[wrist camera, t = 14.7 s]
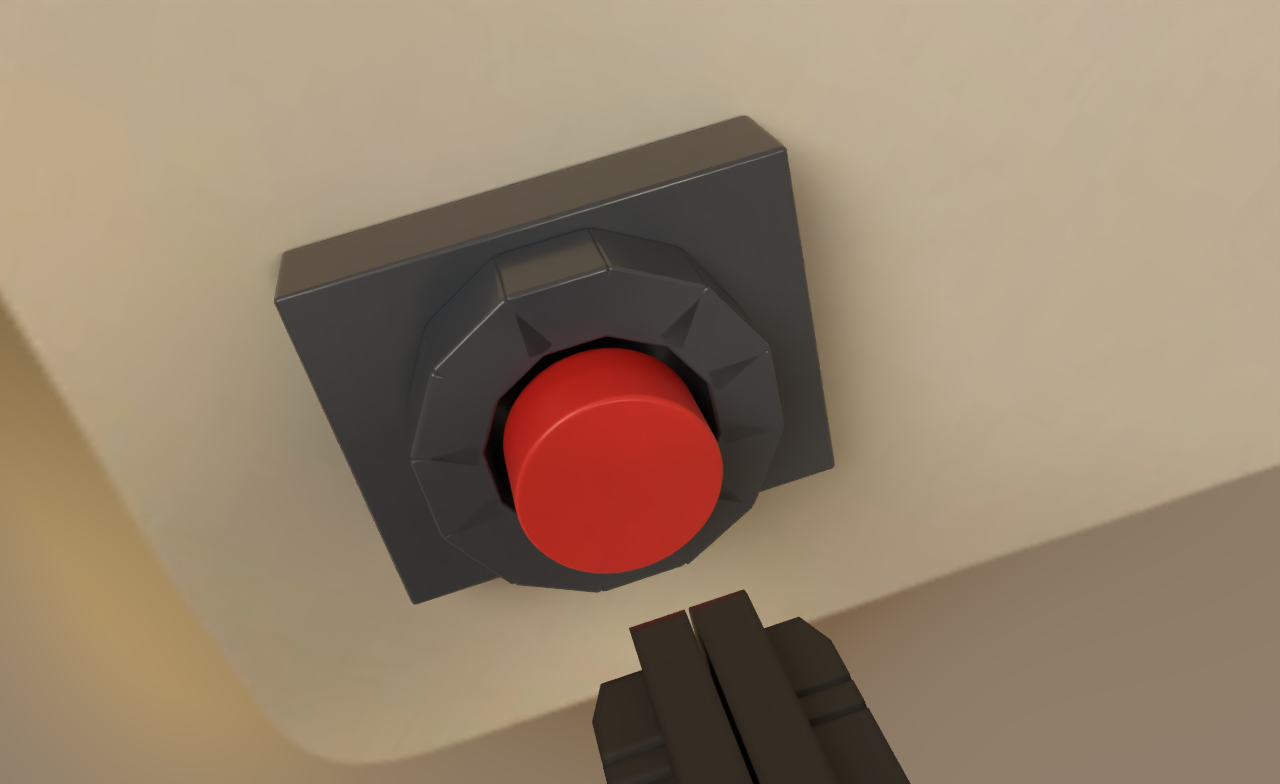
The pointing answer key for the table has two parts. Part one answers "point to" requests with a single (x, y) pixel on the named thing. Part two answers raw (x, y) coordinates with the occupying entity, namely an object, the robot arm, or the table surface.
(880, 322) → the table surface
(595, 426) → the button
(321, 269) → the button block
